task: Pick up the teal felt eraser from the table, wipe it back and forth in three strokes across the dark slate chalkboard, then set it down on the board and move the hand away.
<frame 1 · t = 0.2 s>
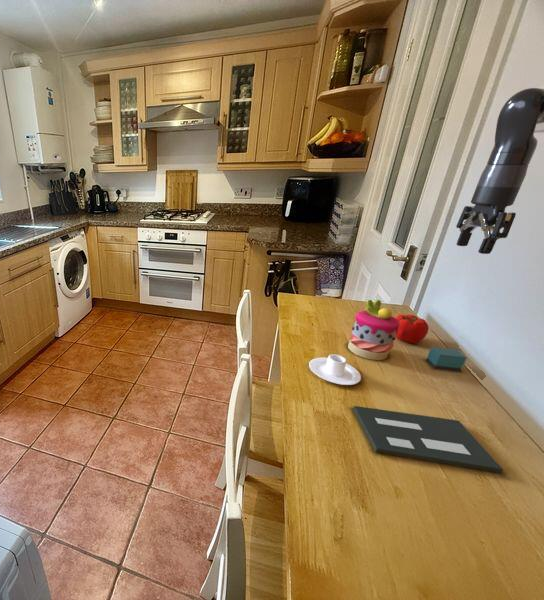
hand: (472, 249, 84), 30 cm above the table, tool pointing down, fingers open, 8 cm apart
candle holder: (333, 373, 84), on the table
tomato: (403, 339, 100), on the table
cake: (366, 351, 94), on the table
eraser: (442, 365, 87), on the table
chalkboard: (418, 437, 64), on the table
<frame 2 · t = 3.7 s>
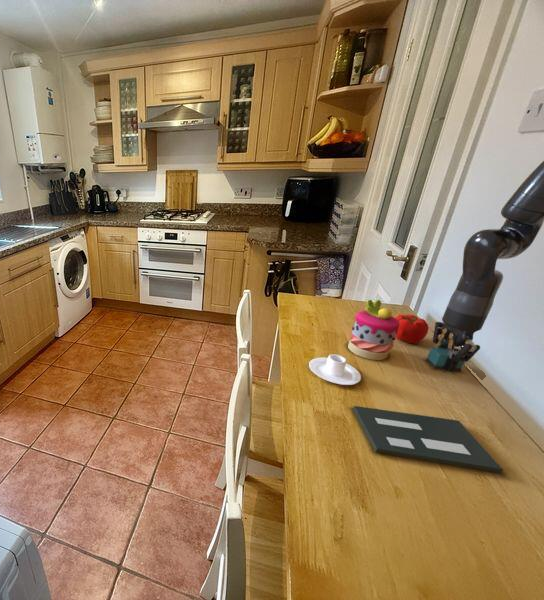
hand: (442, 365, 87), 0 cm above the table, tool pointing down, fingers closed on eraser, 4 cm apart
eraser: (442, 365, 87), on the table, touching gripper
everything else where it was.
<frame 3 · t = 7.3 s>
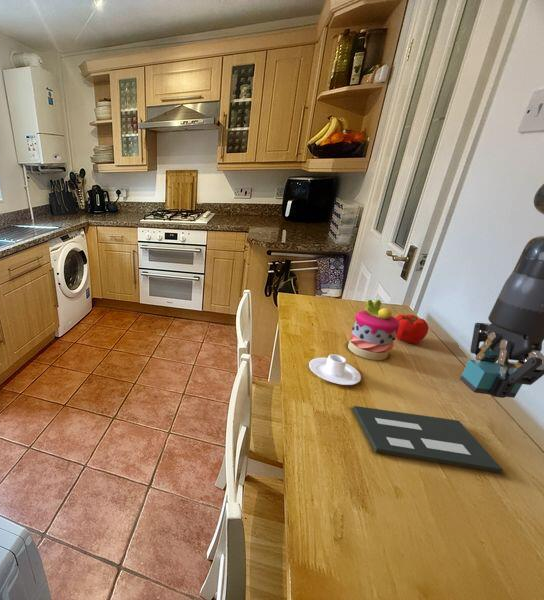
hand: (486, 387, 58), 13 cm above the table, tool pointing down, fingers closed on eraser, 4 cm apart
eraser: (485, 388, 58), point 13 cm above the table, touching gripper
everything else where it was.
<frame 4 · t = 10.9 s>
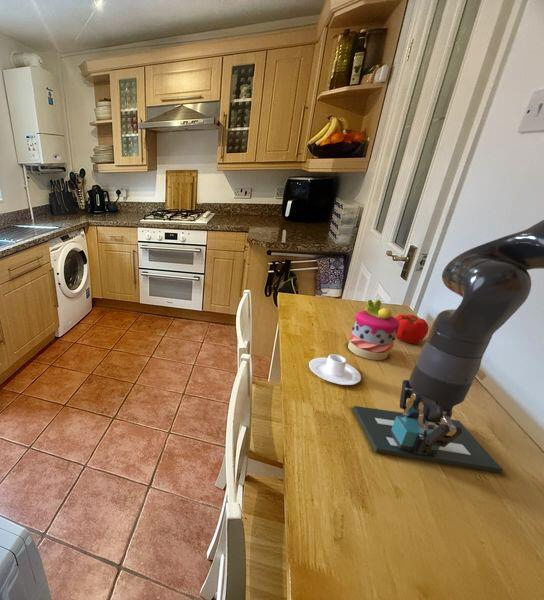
hand: (412, 442, 61), 1 cm above the table, tool pointing down, fingers closed on eraser, 4 cm apart
eraser: (412, 443, 62), point 1 cm above the table, touching chalkboard, gripper
everything else where it was.
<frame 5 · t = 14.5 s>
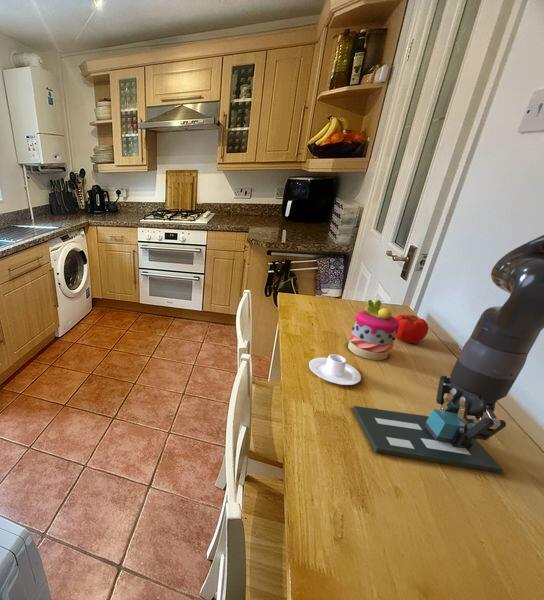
hand: (449, 436, 63), 1 cm above the table, tool pointing down, fingers closed on eraser, 4 cm apart
eraser: (446, 436, 63), point 1 cm above the table, touching gripper
everything else where it was.
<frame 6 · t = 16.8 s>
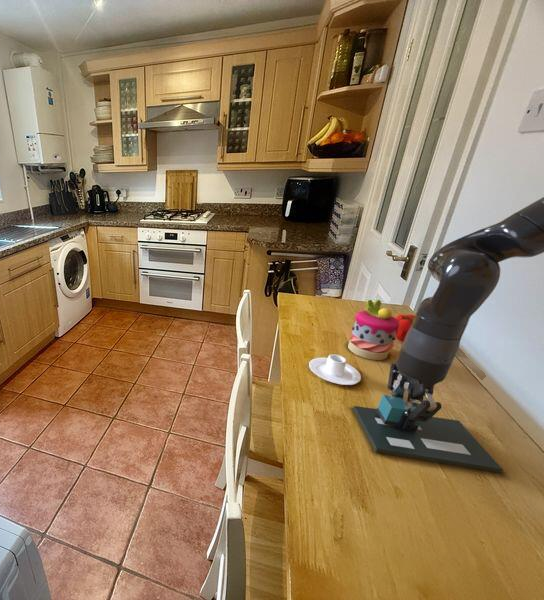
hand: (398, 420, 67), 1 cm above the table, tool pointing down, fingers closed on eraser, 4 cm apart
eraser: (395, 420, 67), point 1 cm above the table, touching gripper
everything else where it was.
when the fingers open (1 cm above the table, at t = 18.1 s): eraser stays where it is, resting on chalkboard.
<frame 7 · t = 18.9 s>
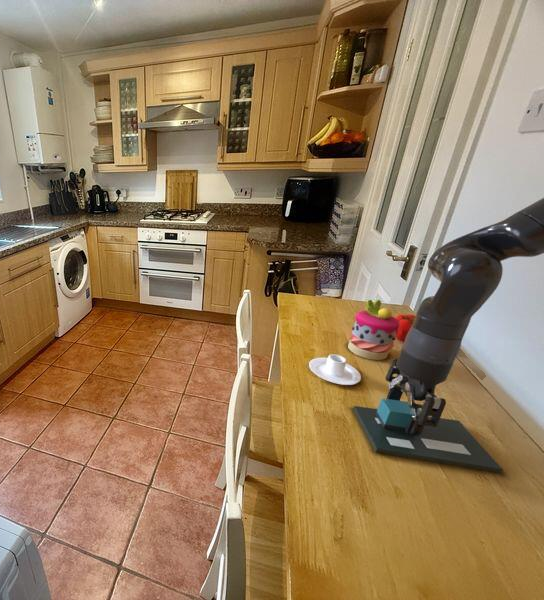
hand: (400, 418, 66), 3 cm above the table, tool pointing down, fingers open, 8 cm apart
eraser: (395, 423, 66), point 1 cm above the table, touching chalkboard
everything else where it was.
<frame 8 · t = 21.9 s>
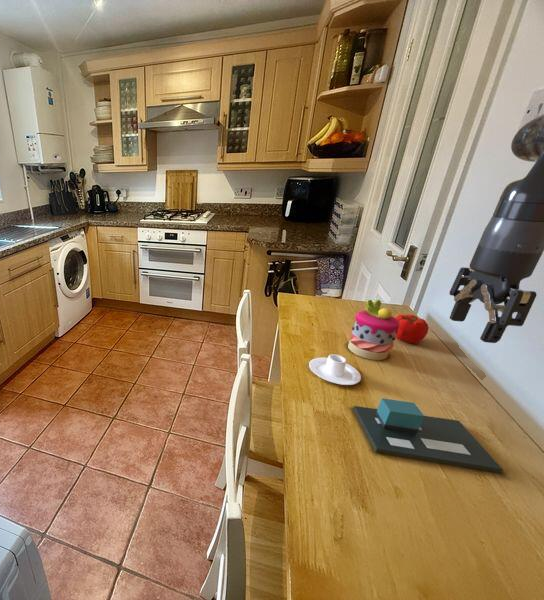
hand: (471, 330, 60), 22 cm above the table, tool pointing down, fingers open, 8 cm apart
nothing on the table moved.
at the end: eraser inside the target area on the chalkboard (4.0 cm from its centre), point 1.1 cm above the chalkboard's base; eraser tilted 0°; the gripper is holding nothing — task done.
